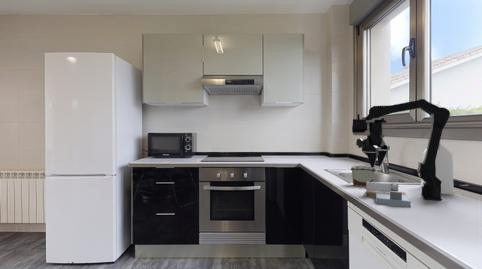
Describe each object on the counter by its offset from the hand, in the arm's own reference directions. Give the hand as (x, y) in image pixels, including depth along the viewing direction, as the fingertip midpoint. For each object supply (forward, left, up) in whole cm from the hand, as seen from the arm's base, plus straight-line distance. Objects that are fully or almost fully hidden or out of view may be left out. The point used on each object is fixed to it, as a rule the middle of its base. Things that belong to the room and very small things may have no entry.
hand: (376, 166), depth 133 cm
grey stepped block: (-6, +15, -13) cm, 21 cm away
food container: (+6, -17, -13) cm, 22 cm away
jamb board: (-4, +5, -13) cm, 14 cm away
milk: (-27, -19, -13) cm, 35 cm away
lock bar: (-2, +6, -10) cm, 12 cm away
